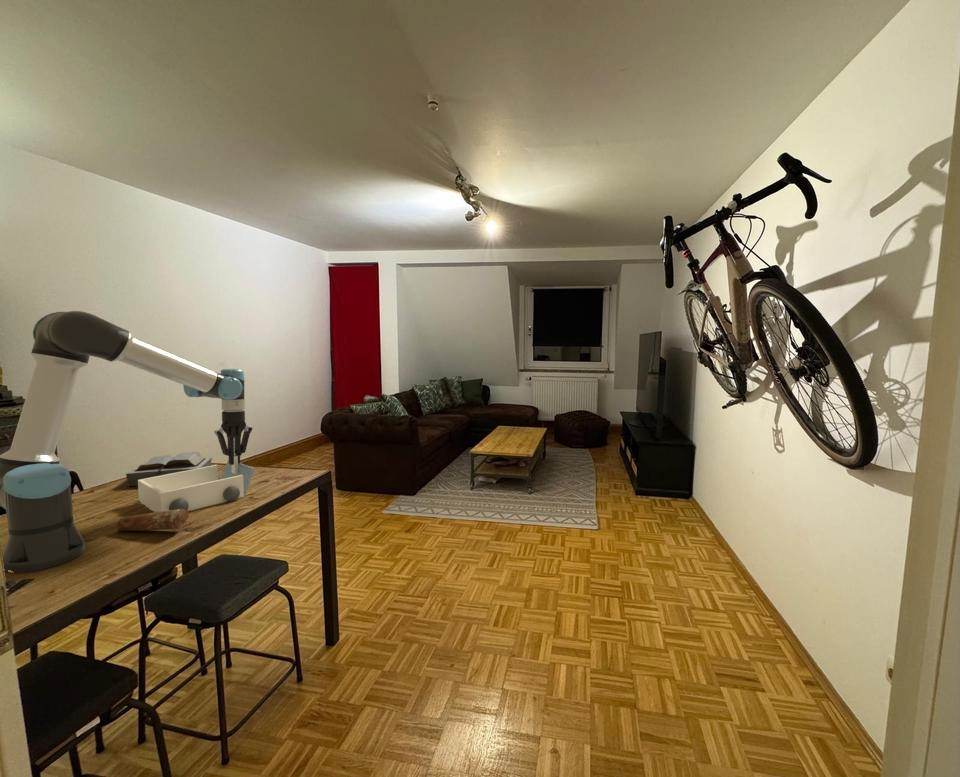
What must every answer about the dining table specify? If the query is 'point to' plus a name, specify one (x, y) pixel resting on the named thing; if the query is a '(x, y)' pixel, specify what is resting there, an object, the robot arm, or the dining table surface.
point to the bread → (154, 521)
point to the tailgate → (239, 473)
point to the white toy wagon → (189, 489)
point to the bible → (167, 466)
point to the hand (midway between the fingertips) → (234, 472)
